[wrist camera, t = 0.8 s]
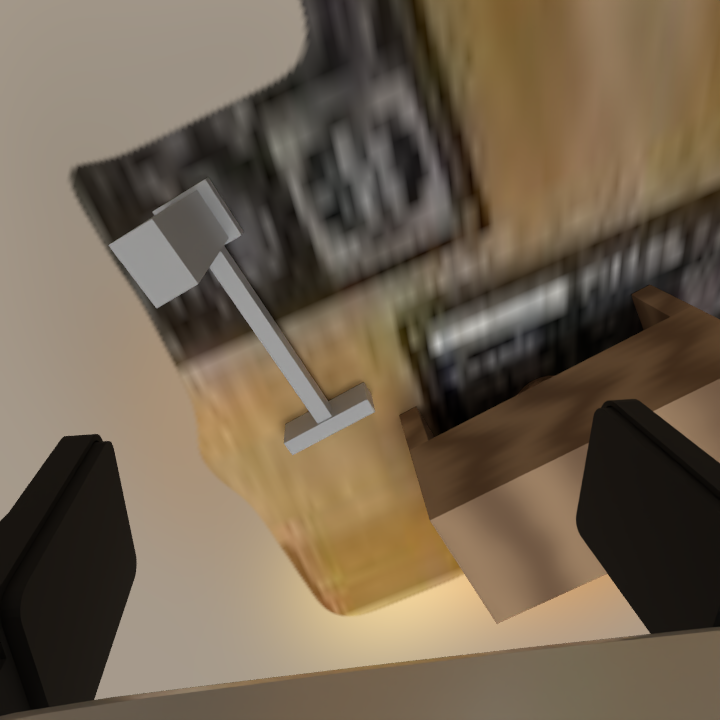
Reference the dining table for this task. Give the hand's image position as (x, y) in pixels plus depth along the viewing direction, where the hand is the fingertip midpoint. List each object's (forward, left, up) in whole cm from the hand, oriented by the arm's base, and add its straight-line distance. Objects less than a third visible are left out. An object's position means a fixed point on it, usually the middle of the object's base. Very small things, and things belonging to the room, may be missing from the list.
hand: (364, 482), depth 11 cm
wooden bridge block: (-8, +21, -29) cm, 37 cm away
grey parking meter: (+7, +3, -29) cm, 30 cm away
